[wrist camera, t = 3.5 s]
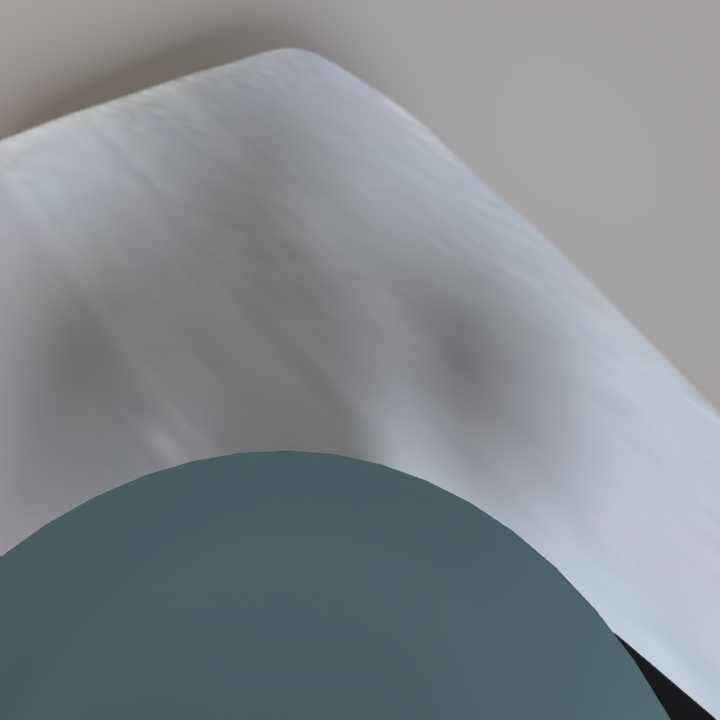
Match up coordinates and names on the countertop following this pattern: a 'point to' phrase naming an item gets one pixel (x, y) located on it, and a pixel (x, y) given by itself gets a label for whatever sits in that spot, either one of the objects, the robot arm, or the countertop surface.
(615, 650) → the cylinder
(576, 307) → the countertop surface
